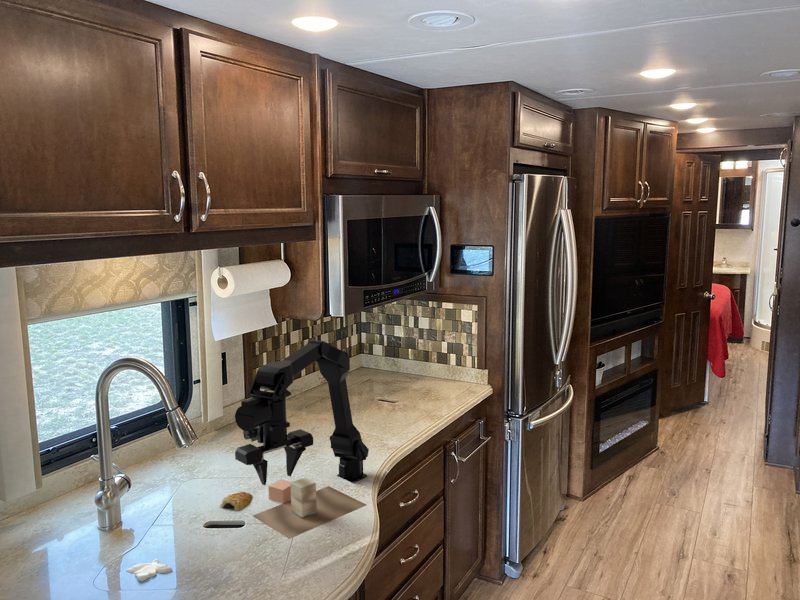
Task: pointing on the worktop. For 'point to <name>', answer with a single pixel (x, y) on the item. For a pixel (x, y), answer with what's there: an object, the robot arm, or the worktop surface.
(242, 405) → the robot arm
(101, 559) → the worktop surface
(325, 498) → the walnut board
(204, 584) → the worktop surface
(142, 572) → the acanthus leaf ornament
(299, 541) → the worktop surface
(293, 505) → the maple block
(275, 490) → the terracotta cube
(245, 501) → the pastry
